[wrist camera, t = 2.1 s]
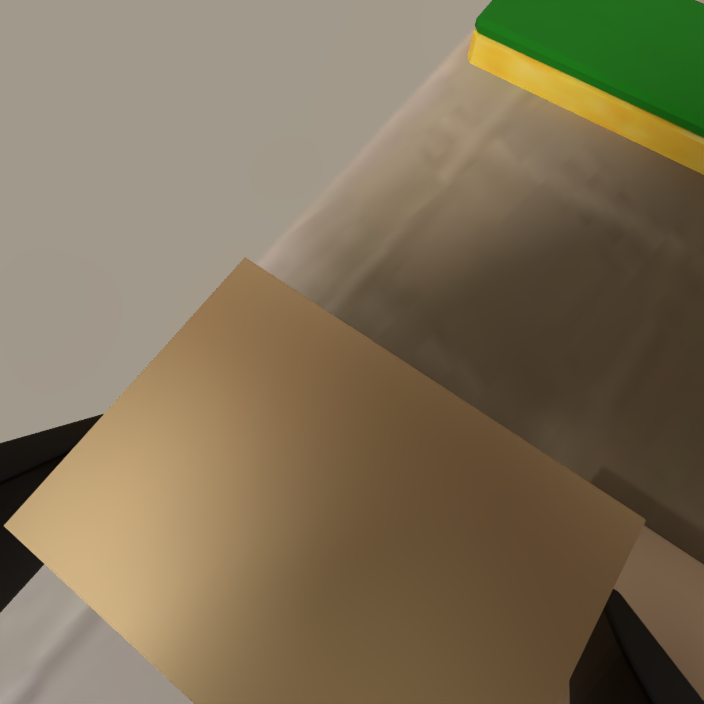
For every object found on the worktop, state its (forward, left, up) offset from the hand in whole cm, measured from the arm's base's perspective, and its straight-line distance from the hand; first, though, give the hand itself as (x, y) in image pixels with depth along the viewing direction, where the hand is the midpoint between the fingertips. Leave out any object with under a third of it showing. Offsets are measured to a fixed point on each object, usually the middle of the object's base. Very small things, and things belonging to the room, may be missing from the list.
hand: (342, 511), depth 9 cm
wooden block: (0, 0, -8) cm, 8 cm away
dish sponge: (+24, +1, -9) cm, 26 cm away
